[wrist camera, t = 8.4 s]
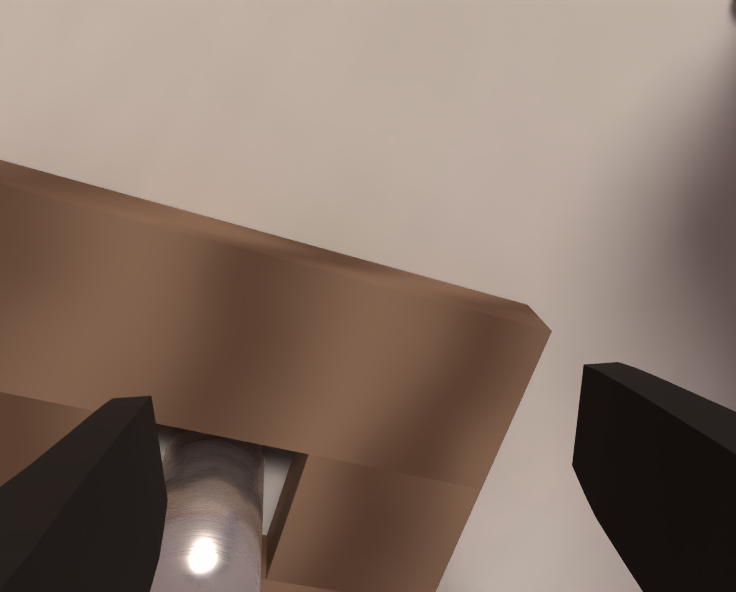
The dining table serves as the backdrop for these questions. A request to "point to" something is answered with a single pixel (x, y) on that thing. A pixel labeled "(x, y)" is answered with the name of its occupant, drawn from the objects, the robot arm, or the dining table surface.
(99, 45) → the dining table surface
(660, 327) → the dining table surface
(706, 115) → the dining table surface
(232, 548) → the steel roller
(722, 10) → the dining table surface
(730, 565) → the robot arm
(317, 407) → the walnut plate
